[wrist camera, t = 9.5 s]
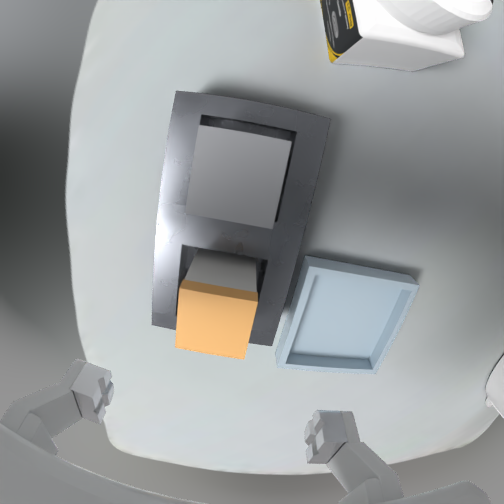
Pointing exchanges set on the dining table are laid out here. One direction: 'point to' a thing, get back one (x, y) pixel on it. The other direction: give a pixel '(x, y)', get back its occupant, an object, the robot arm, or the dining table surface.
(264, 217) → the grey rectangular block
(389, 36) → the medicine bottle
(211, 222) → the square-holed metal block
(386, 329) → the tray
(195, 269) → the plug
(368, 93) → the dining table surface
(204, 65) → the dining table surface
